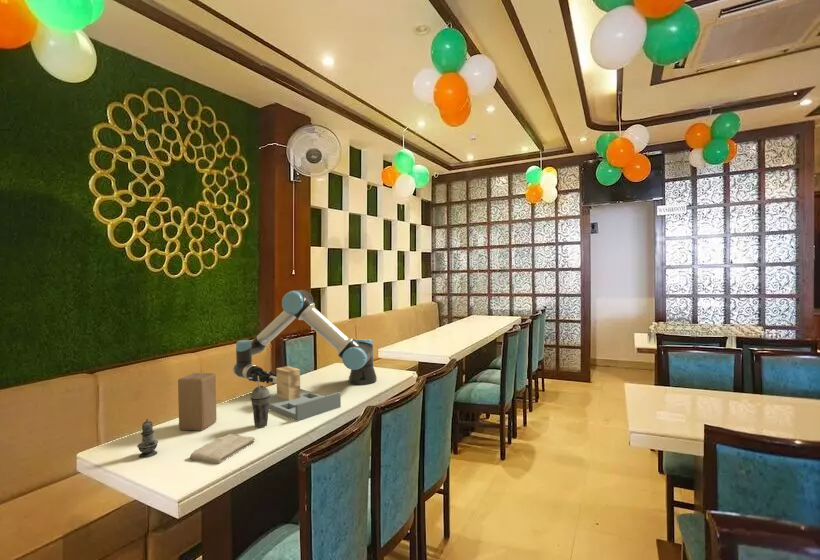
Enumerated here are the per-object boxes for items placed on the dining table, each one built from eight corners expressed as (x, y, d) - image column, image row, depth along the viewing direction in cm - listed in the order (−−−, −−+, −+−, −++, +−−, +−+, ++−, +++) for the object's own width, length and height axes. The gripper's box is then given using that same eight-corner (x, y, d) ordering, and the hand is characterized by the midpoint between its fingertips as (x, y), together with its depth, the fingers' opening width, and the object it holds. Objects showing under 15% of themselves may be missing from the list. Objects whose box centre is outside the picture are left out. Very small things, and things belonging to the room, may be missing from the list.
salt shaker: (143, 450, 137) (142, 415, 137) (162, 450, 138) (161, 415, 138) (133, 458, 132) (132, 422, 131) (152, 458, 132) (151, 421, 132)
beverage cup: (274, 423, 161) (273, 373, 161) (262, 430, 154) (261, 378, 154) (259, 421, 163) (258, 372, 163) (246, 428, 156) (245, 376, 156)
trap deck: (299, 393, 201) (299, 380, 201) (340, 407, 180) (340, 392, 180) (257, 404, 184) (257, 390, 184) (297, 421, 163) (297, 405, 163)
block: (217, 421, 164) (216, 372, 163) (202, 431, 154) (201, 379, 153) (194, 421, 165) (193, 372, 164) (177, 430, 155) (176, 378, 154)
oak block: (288, 393, 193) (287, 366, 192) (300, 397, 186) (299, 369, 186) (276, 396, 188) (276, 368, 188) (288, 400, 182) (288, 371, 181)
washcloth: (257, 443, 144) (257, 434, 144) (219, 466, 127) (219, 456, 127) (229, 439, 148) (229, 430, 148) (189, 461, 131) (189, 452, 131)
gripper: (265, 377, 213) (290, 385, 198) (241, 383, 203) (265, 391, 188) (264, 363, 213) (289, 370, 197) (240, 368, 203) (265, 375, 188)
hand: (277, 380), depth 193 cm, fingers closed
